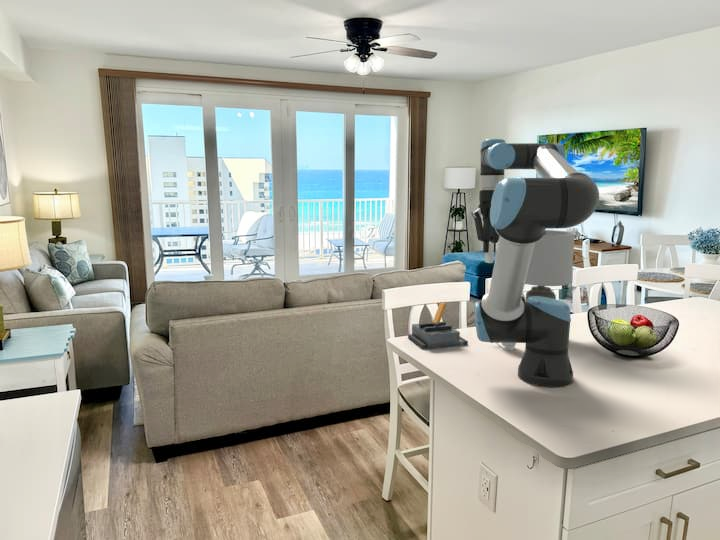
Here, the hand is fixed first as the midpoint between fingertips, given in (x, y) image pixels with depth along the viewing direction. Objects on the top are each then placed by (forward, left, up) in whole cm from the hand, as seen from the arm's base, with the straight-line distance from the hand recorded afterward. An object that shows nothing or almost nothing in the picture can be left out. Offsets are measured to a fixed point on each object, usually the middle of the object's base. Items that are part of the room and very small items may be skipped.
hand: (488, 262), depth 170 cm
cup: (+2, -8, -31) cm, 32 cm away
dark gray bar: (+15, +19, -30) cm, 39 cm away
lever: (+15, +12, -24) cm, 30 cm away
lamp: (+11, -28, -30) cm, 43 cm away
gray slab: (+15, +3, -30) cm, 34 cm away
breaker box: (+15, +12, -30) cm, 36 cm away
